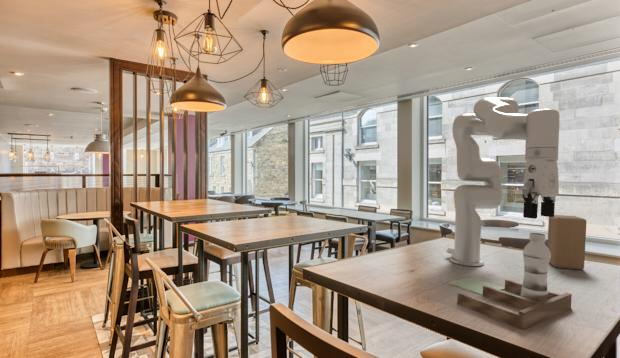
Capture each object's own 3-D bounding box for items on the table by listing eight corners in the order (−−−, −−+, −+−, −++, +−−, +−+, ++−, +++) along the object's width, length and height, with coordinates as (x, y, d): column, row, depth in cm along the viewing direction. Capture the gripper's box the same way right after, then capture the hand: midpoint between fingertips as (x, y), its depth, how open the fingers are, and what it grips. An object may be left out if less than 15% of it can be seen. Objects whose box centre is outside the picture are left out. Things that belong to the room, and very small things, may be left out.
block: (574, 264, 139) (576, 215, 138) (585, 271, 130) (587, 219, 129) (545, 261, 142) (548, 214, 142) (554, 267, 133) (556, 217, 132)
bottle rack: (457, 303, 94) (457, 289, 93) (506, 288, 107) (507, 276, 107) (523, 329, 79) (524, 312, 79) (570, 308, 93) (571, 293, 92)
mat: (448, 283, 110) (448, 282, 110) (470, 278, 117) (470, 277, 117) (483, 295, 100) (483, 294, 100) (505, 289, 107) (505, 288, 107)
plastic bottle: (514, 300, 97) (517, 231, 97) (536, 300, 98) (539, 231, 97) (531, 310, 91) (534, 236, 90) (554, 309, 91) (558, 236, 91)
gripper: (541, 152, 85) (538, 220, 85) (571, 156, 94) (568, 217, 95) (510, 154, 91) (508, 217, 92) (541, 157, 101) (539, 214, 101)
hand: (538, 217), depth 93 cm, fingers open, 9 cm apart
